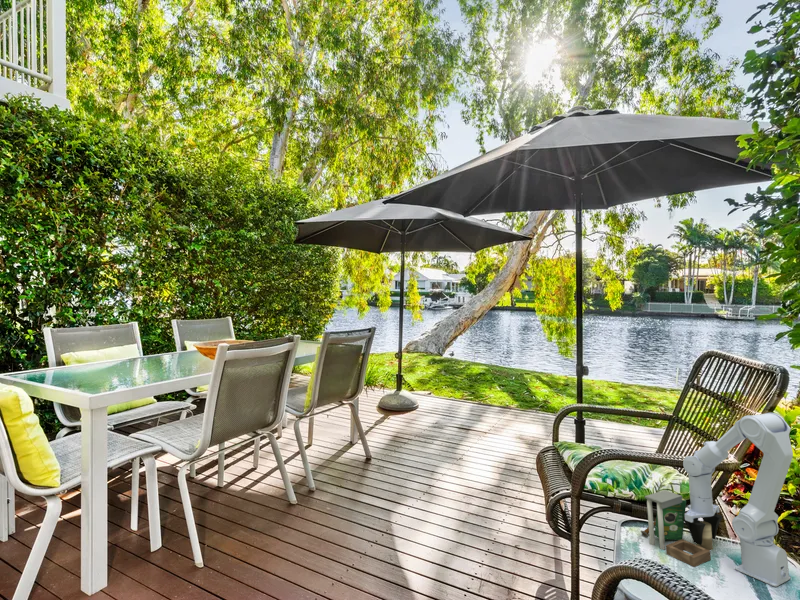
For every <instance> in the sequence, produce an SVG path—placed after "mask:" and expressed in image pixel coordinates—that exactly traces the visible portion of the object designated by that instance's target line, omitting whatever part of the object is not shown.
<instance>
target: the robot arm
mask: <svg viewBox="0 0 800 600" xmlns="http://www.w3.org/2000/svg"><path fill="white" fill-rule="evenodd" d="M791 429H792V428H791V427H790V426H789V424H788V423H787V421H785V419H784V418H783V417H782V416H781V415H779V414H778V413H775V412H765V413H762V414H761V413H760V414H753V415H751V414H750V415H749V414H748V415H745V416H742V417H741V418H740V419H739V420H736V421H735V423H734V424H733V426H732V427H730V428H729V430H728V431H726V432H725V433H723V435H722V436H721V437H720V438H719V439H718V440H717V441H716V440H710V441H709V440H708V441H705V442H703V443H702V444H703V447H701V448H700V449H699V450H695V451H694V453H693V455H687V456H685V457H684V459H683V462H682V466H683V469H684V471H685V472H686V473H687V474H688V476H687V477H688V486H689V487H688V488H689V499H690V500H689V501H690V504H689V505H686V507H687V509H688V510H687V511H686V512H685V517H683V521H684V524H685V525H686V526H687V529H688V531H689V533H690V537H691V538H692V543H693V544H696V545H697V544H699V545H701V544H702V536H703V529H704V527H705V525H706V524H704V523H702V522H700V521H701V520H700V519H701V518H702V521H705V522H708V523H710V524H711V531H712V540H715V539H716V537H717V533H718V528H719V526H720V523H721V521H722V520H723V516H722V515H721V514H719V513H720V506H719V505H717V504H715V503H714V502H713V491H712V490H713V489H712V479H713V473H714V472H715V471H716V467H718V466H719V465H721V463H722V462H724V461H725V460H726V459H728V457H729V451H730V450H731V449H733V448H734V447H736V446H738V444H740V443H741V442H743V441H744V440H746V439H748V441H750V442H751V443H752V444H753V445H754V446H755V447H756V448H757V449H759V450H760V451H761V452H762V453H763V456H762V459H761V461H760V462H761V463H760V466H759V468H758V472H757V475H756V478H755V481H754V483H753V485H752V489H751V492H750V496H749V499H748V502H747V504H745V505H744V506H743V507H741V509H740V510H739V513H738V515H737V516H735V517H734V518H732V521H731V526H732V529H733V531H734V533H735V534H736V535H737V537H738V540H739V546H740V555H741V556H740V557H741V558H740V559H741V564H739V565H737V566H735V567H734V570H736V571H737V572H741V573H742V574H744V575H747V576H749V577H751V578H754V579H756V580H758V581H760V582H763V583H766V584H767V585H770V586H772V587H778V586H780V585H782V584H783V583H786V582H787V581H789V580H791V576H790V573H789V564H788V563H789V560H788V554H787V552H786V550H785V549H784V548H781V547H779V546H778V545H776V544H775V543H774V541H775V536H776V535H777V534H778V533H779V530H780V529H779V525H778V520H779V515H778V514H777V513H776V512H775V509H776V506H777V504H778V501H779V497H780V495H781V492H782V490H783V489H782V488H783V486H784V484H785V481H786V478H787V474H788V472H789V469H790V466H791V463H792V459H793V458H794V452H793V448H792V444H791V439H790V432H791ZM713 503H714V504H713Z"/></svg>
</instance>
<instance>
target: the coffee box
mask: <svg viewBox="0 0 800 600" xmlns="http://www.w3.org/2000/svg"><path fill="white" fill-rule="evenodd" d="M686 507H687V500H686V499H685V498H683V497H682V503H679V504H676V505H673V506H670V507H667V508H664V509H662V511H663V525H664V539H665V541H666V540H673V541H678V540H681V539H683V538H684V528H685V527H684V525H685V522H684V521H683V517H685V513H686ZM655 519H656V525H655V528H654V530H655V534H654V537H656V538H657V539H659V528H658V514H657V513H656V518H655Z"/></svg>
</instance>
